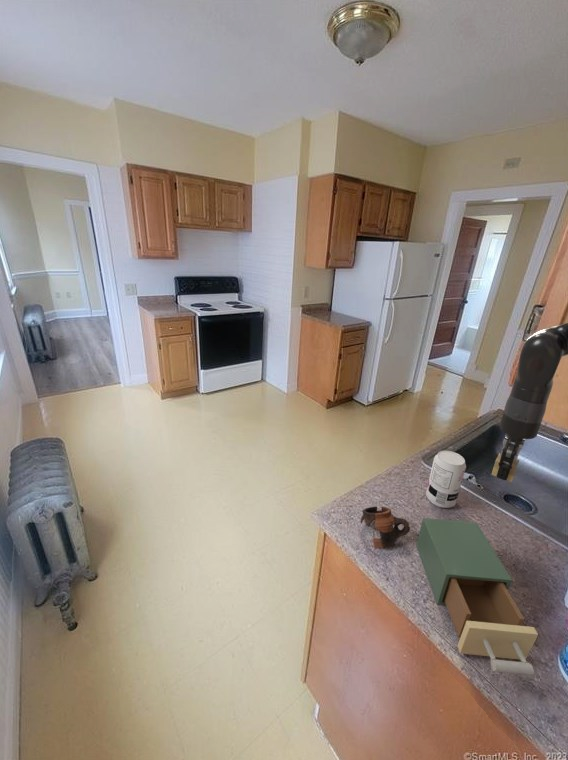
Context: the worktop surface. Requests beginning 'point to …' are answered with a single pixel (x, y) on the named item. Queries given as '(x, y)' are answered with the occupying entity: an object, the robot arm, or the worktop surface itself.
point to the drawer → (489, 623)
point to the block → (512, 471)
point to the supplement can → (445, 479)
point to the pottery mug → (385, 526)
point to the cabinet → (457, 555)
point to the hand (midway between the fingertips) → (503, 473)
